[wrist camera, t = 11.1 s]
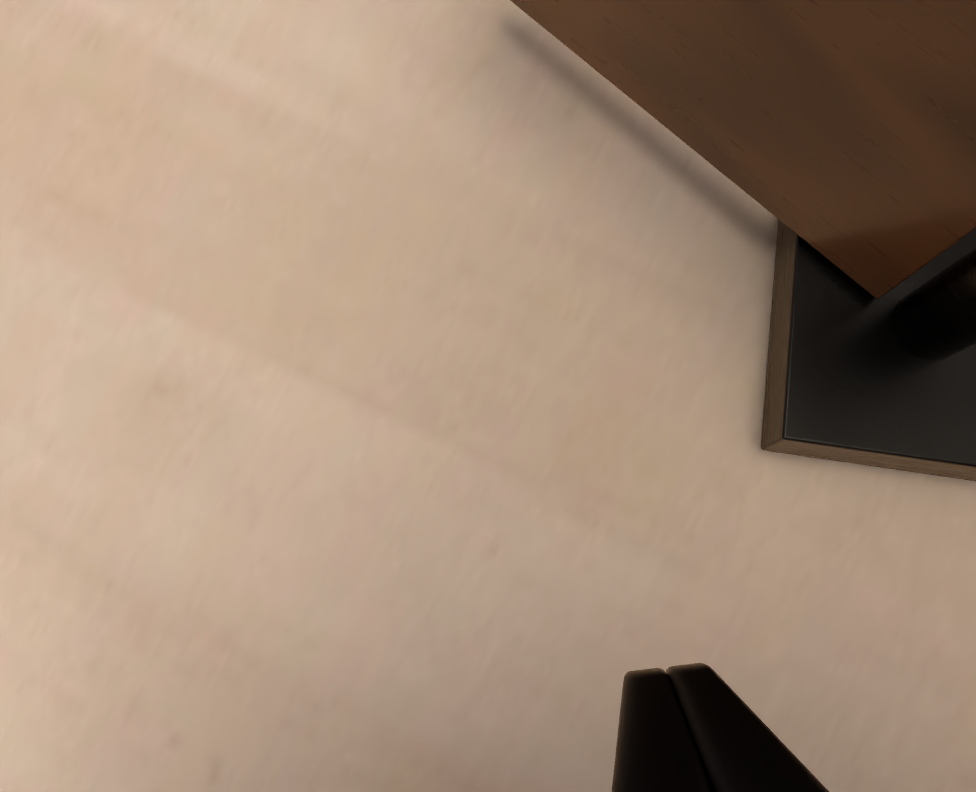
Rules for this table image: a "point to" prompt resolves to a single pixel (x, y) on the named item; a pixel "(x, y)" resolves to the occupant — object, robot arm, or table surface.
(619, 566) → the table surface
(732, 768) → the robot arm
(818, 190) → the door
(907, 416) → the door post
